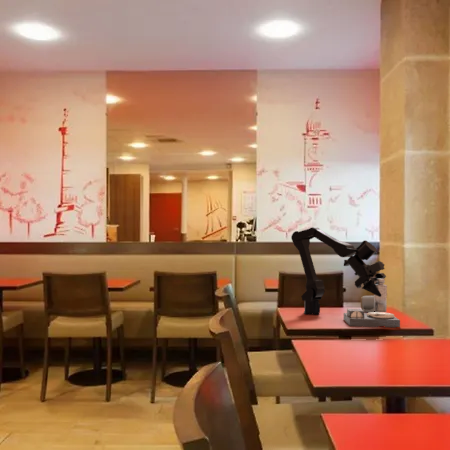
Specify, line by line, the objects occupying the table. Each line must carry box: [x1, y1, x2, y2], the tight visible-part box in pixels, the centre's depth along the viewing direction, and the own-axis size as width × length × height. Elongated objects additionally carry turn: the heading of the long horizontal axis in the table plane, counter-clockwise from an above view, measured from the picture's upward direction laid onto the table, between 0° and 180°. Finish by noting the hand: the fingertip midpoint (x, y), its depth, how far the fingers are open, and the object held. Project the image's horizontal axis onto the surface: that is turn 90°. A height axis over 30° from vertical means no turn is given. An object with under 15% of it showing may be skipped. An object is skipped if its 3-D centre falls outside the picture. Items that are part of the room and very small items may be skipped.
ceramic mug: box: [360, 295, 376, 313], centre depth 244 cm, size 11×8×8 cm
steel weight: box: [373, 278, 388, 313], centre depth 211 cm, size 5×5×14 cm
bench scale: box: [343, 308, 401, 328], centre depth 211 cm, size 20×15×6 cm
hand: (383, 295), depth 210 cm, fingers closed on steel weight, 5 cm apart
